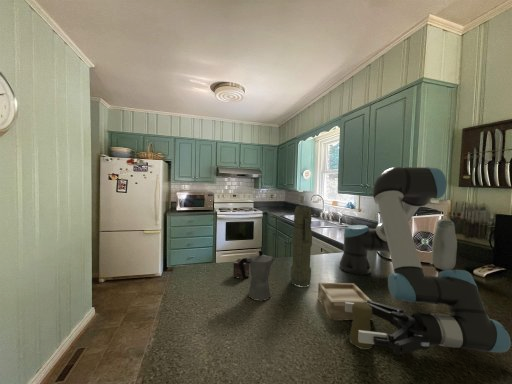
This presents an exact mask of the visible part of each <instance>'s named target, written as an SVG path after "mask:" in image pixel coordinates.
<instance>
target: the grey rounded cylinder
mask: <svg viewBox="0 0 512 384" xmlns="http://www.w3.org/2000/svg"><path fill="white" fill-rule="evenodd" d="M457 249H458V239H457V235H456V226H455V223H454V221H453V220H452V219H448V218H440V219H438V221H437V222H436V227H435V231H434V234H433V238H432V247H431V252H432V253H431V260H432V264H433V266H434V267H436V268H437V269H439V270H441V271H445V270H454V268H455V266H456V264H457V263H456V262H457V251H458V250H457Z"/></svg>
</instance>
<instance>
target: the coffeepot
mask: <svg viewBox="0 0 512 384" xmlns="http://www.w3.org/2000/svg"><path fill="white" fill-rule="evenodd" d="M241 259H242V260H241V261H240V262H239V267H240V270H241V273H242V277H243V279H242V280H244V279H245V280H248V279H249V278H250V277H249V276H251V279H250V286H249V291H248V296H250V297H252V298H253V299H259V300H264V299H267V298H269V297H270V298H271V291H270V290H271V289H270V281H269V276H270V273H271V267H272V264H273V263H274V261H275V260H276V259H277V258H276V257H275V256H272V255H266V254H263V250H259V251H258V254H253V255H250V256H249V257H243V258H241ZM244 263H250V264H249V271H250V275H249V276H245V271H244V266H243V264H244ZM270 298H269V299H270Z"/></svg>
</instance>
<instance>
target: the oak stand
mask: <svg viewBox="0 0 512 384" xmlns="http://www.w3.org/2000/svg"><path fill="white" fill-rule="evenodd" d="M317 290H318V291H317V299H318V298H319V299H318V301H319V300H320V301H321V303H322V304H321V303H320V304H321V306H322V305H323V306H322V308H323V307H324V308H325V310H326V311H325V310H324V311H325V313H326V312H327V313H326V314H328V315H329V317H330V318H329V317H328V318H329V320H330V319H349V320H353V316H354V314H353V312H345V302H350V303H355V302H363V303H366V304H367V300H370V301H372V299H370V298H369V297H368V295H366V293H364V292H363V291H362V290H361V289H360V288H359V287H358V286H357V285H356V283H352V282H350V283H349V282H347V283H345V282H318V287H317ZM320 301H319V302H320ZM324 308H323V309H324ZM328 315H327V316H328ZM370 320H374V315H373V314H372V317H371V318H370Z"/></svg>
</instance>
